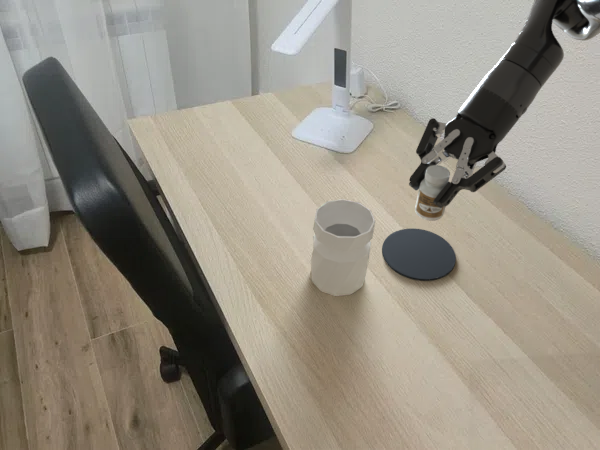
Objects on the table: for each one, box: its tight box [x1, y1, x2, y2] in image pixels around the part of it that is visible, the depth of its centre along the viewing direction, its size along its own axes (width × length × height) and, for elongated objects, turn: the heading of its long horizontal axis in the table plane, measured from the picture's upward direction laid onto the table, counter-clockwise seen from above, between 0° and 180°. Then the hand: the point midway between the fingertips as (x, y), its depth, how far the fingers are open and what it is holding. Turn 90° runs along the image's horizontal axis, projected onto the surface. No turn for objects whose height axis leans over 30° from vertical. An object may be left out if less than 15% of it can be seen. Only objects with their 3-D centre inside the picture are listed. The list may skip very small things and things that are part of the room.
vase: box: [310, 198, 376, 297], centre depth 82 cm, size 9×9×12 cm
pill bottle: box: [414, 164, 451, 222], centre depth 82 cm, size 4×4×8 cm
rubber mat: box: [381, 228, 457, 282], centre depth 91 cm, size 12×12×1 cm
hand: (424, 196), depth 81 cm, fingers closed on pill bottle, 4 cm apart
